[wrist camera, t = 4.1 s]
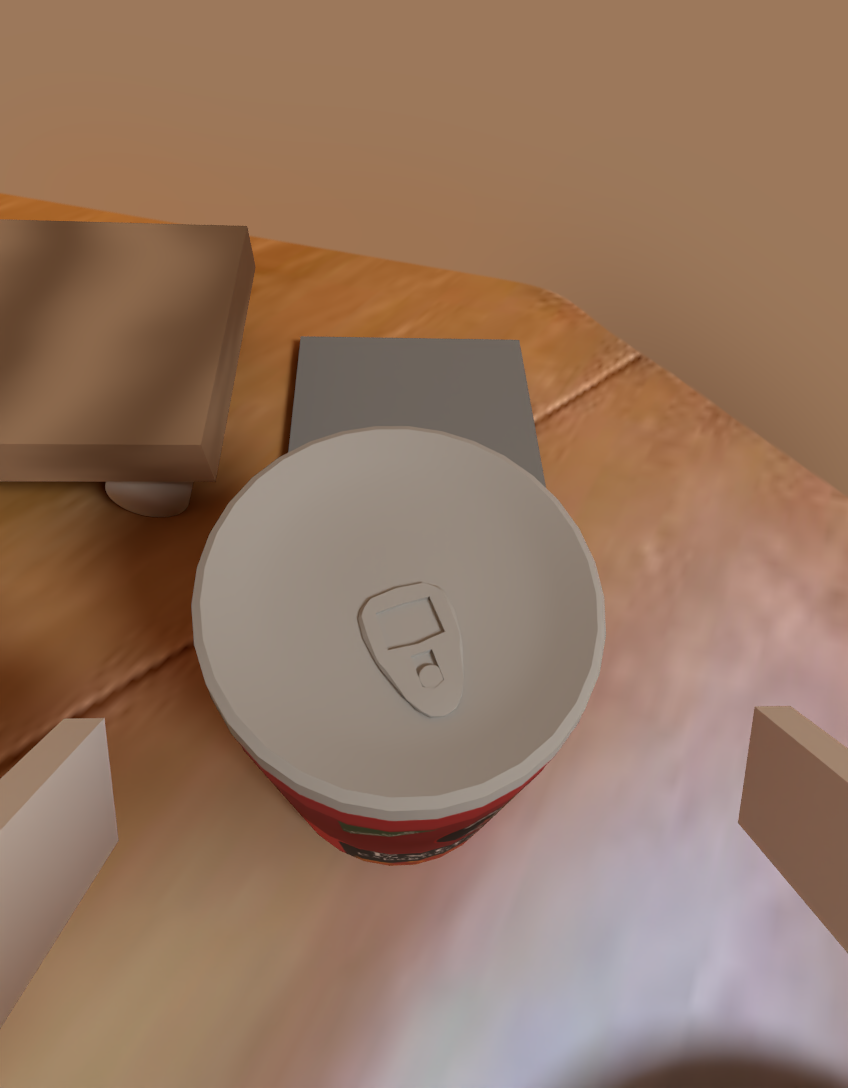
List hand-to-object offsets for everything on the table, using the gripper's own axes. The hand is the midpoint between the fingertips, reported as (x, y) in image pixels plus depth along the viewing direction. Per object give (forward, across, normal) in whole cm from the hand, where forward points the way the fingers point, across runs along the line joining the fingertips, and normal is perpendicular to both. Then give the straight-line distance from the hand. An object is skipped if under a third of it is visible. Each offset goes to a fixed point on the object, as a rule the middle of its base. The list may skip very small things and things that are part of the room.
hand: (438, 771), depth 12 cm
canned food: (+8, -1, -4) cm, 9 cm away
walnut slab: (+18, -16, +7) cm, 25 cm away
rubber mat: (+17, 0, +6) cm, 19 cm away
